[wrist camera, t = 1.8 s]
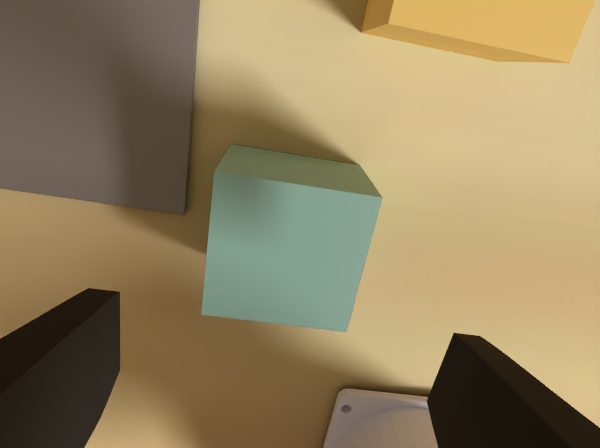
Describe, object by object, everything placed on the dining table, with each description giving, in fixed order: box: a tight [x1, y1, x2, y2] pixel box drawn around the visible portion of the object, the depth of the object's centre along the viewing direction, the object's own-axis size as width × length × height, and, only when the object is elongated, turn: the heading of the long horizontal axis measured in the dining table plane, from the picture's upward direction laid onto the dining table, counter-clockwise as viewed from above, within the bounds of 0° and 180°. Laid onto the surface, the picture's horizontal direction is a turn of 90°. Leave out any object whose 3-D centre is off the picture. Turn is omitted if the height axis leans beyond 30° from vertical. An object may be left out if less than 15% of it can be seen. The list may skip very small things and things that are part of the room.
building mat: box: [0, 0, 200, 215], centre depth 13 cm, size 10×10×1 cm
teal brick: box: [201, 144, 382, 332], centre depth 14 cm, size 5×5×4 cm
